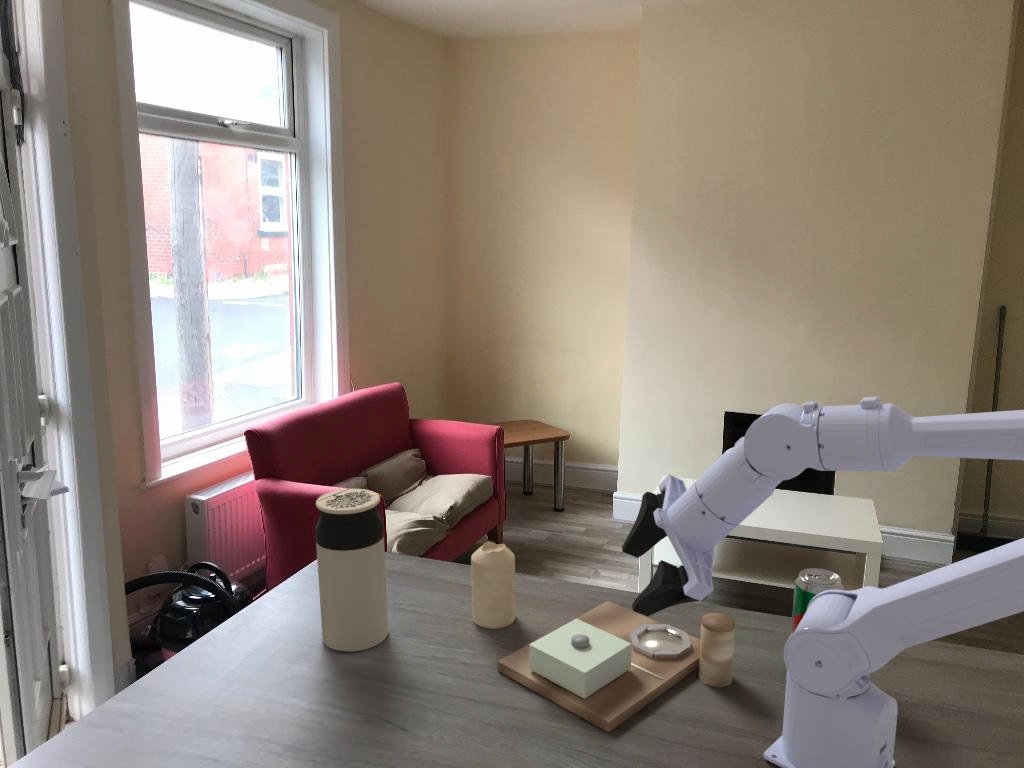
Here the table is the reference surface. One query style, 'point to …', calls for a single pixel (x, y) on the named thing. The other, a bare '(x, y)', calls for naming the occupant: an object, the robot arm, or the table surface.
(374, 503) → the travel mug
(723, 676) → the peg
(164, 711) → the table surface
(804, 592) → the soda can
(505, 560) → the candle
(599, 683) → the cover
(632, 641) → the socket ring
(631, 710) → the board
